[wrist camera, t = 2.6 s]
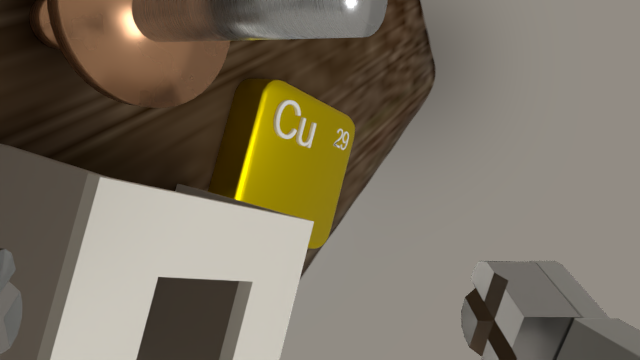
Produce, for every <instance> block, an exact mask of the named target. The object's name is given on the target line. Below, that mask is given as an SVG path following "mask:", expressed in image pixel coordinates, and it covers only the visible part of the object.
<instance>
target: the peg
mask: <svg viewBox="0 0 640 360" xmlns="http://www.w3.org/2000/svg"><path fill="white" fill-rule="evenodd" d="M386 8H387V0H36V1H35V2H34V4H33V5H32V7H31V10H30V14H29V22H30V26H31V29H32V31H33V33H34V34H35V36H36V37H37V38H38V39H39V40H40V41H41V42H42V43H43V44H45V45H47V46H49V47H51V48H54V49H60V50H61V51H62V53H63V55H64V56H65V58H66V59H67V61H68V63H69V64H70V65H71V66H72V68H73V69H74V70H75V71H76V73H77V74H78V75H79V76H80V77H81V78H82V79H83V80H84V81H85V82H86V83H87V84H89V85H90V86H91V87H93V88H94V89H95V90H97V91H98V92H100V93H102V94H103V95H105V96H107V97H109V98H111V99H113V100H116V101H118V102H121V103H125V104H129V105H136V106H144V107H152V108H166V107H172V106H177V105H180V104H183V103H186V102H187V101H189V100H191V99H193V98H195V97H196V96H198V95H199V94H201V93H202V92H203V91H204V90H205V89H206V88H207V87H208V86H209V85H210V84H211V83H212V82H213V80H214V79H215V78H216V76H217V74H218V73H219V71H220V70H221V68H222V65H223V63H224V61H225V58H226V55H227V52H228V49H229V44H230V41H232V40H270V39H309V38H347V37H368V36H370V35H372V34H374V33H375V32H376V31H377V30H378V28H379V27H380V25H381V23H382V21H383V19H384V16H385V12H386Z"/></svg>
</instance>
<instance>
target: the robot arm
mask: <svg viewBox="0 0 640 360" xmlns="http://www.w3.org/2000/svg"><path fill="white" fill-rule="evenodd" d="M15 270H16V269H15V265H14V261H13V256H12V253H11V252H9V251H8V250H6V249H3V248H0V355H1V354H2V353H4V352H5V351H7V350H8V349H10V347H11V345H12V344H13V342H14V340H15V338H16V336H17V334H18V331H19V327H20V323H21V319H22V299H21V294H20V291H19V290H18V289H17V288H16V287H15V286H14V285H12V284H11V283H10V282H9V279H10V278H11V276H12V275H13V273H14V272H15ZM471 280H472V282H473V284H474V286H475V289H474V290H473V291H472V292H470V293H469V294H468V295H467V296H466V297H465V299H464V303H463V307H462V311H461V317H462V319H461V320H462V329H463V333H464V337H465V339H466V341H467V343H468V346H469V347H470V348H471V349H472V350H474V351H475V352H476V353H478V354H479V355H480V356H482V358H481V360H640V330H638V329H636V328H634V327H633V326H631V325H629V324H627V323H625V322H623V321H622V320H620V319H611V318H609V317H608V316H607V314H606V313H605V312H604V311H603V310H602V309H601V308H600V307H599V305H598V304H597V303H596V302H595V301H594V300H593V299H592V298H591V296H590V295H589V294H588V293H587V292H586V291H585V290H584V289H583V287H582V286H581V285H580V284H579V283H578V282H577V281H576V280H575V278H574V277H573V276H572V275H571V274H570V273H569V272H568V271H567V270H566V268H565V267H564V266H563V265H562V264H560V263H558V262H556V261H529V262H510V261H479V262H478V263H477V265H476V266H475V268H474V271H473V273H472V277H471Z"/></svg>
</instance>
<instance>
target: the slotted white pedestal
mask: <svg viewBox="0 0 640 360" xmlns="http://www.w3.org/2000/svg"><path fill="white" fill-rule="evenodd" d="M313 224H314V221H310V220H307V219H303V218H300V217H296V216H292V215H289V214H285V213H282V212H278V211H275V210H271V209H268V208H264V207H260V206H257V205H253V204H250V203H246V202H243V201H239V200H236V199H232V198H228V197H225V196H221V195H218V194H214V193H211V192H207V191H204V190H200V189H196V188H193V187H189V186H185V185H181V184H177V186H176V190H175V191H171V190H166V189H161V188H157V187H152V186H147V185H142V184H138V183H133V182H128V181H123V180H119V179H114V178H110V177H107V176H104V175H100V174H97V173H94V172H91V171H88V170H85V169H81V168H78V167H75V166H72V165H69V164H66V163H62V162H59V161H56V160H53V159H50V158H47V157H43V156H40V155H37V154H34V153H31V152H28V151H24V150H21V149H18V148H15V147H12V146H8V145H4V144H0V248H3V249H6V250H8V251H9V252H11V253H12V256H13V261H14V265H15V269H16V270H15V272H14V273H13V275H12V276H11V278H10V279H9V282H10V283H11V284H12V285H14V286H15V287H16V288H17V289H18V290H19V291H20V294H21V299H22V319H21V323H20V327H19V331H18V334H17V336H16V338H15V340H14V342H13V344H12V345H11V347H10V349H8V350H7V351H5V352H4V353H2V354H1V355H0V360H279V359H280V355H281V351H282V347H283V343H284V339H285V335H286V331H287V327H288V323H289V319H290V315H291V311H292V307H293V303H294V299H295V295H296V291H297V287H298V283H299V279H300V275H301V272H302V268H303V264H304V260H305V256H306V252H307V248H308V244H309V240H310V236H311V232H312V228H313Z"/></svg>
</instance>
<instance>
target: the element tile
mask: <svg viewBox="0 0 640 360" xmlns="http://www.w3.org/2000/svg"><path fill="white" fill-rule="evenodd" d="M354 133H355V126H354V124H353V122H352V120H351V118H350V117H348V116H347V115H345V114H343V113H342V112H340V111H338V110H336V109H334V108H332V107H330V106H328V105H327V104H325V103H323V102H321V101H319V100H317V99H315V98H313V97H312V96H310V95H308V94H306V93H304V92H302V91H300V90H299V89H297V88H295V87H293V86H291V85H289V84H287V83H285V82H284V81H281V80H275V79H253V78H252V79H245V80H244V81H242V82H241V83H240V84H239V86H238V87H237V89H236V91H235V94H234V98H233V102H232V105H231V109H230V113H229V116H228V120H227V124H226V127H225V131H224V135H223V138H222V142H221V146H220V149H219V153H218V157H217V160H216V164H215V168H214V172H213V175H212V179H211V183H210V186H209V190H208V192H211V193H214V194H218V195H221V196H225V197H228V198H232V199H236V200H239V201H243V202H246V203H250V204H253V205H257V206H260V207H264V208H268V209H271V210H275V211H278V212H282V213H285V214H289V215H292V216H296V217H300V218H303V219H307V220H310V221H314V224H313V228H312V232H311V236H310V240H309V244H308V248H311V249H314V248H319V247H321V246H322V245H323V244H324V243H325V242H326V240H327V238H328V236H329V233H330V230H331V226H332V222H333V218H334V214H335V210H336V206H337V202H338V198H339V194H340V191H341V187H342V183H343V179H344V175H345V171H346V167H347V163H348V159H349V155H350V151H351V148H352V144H353V140H354Z"/></svg>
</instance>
